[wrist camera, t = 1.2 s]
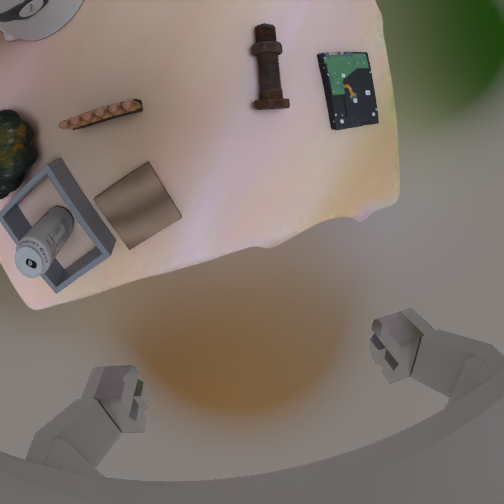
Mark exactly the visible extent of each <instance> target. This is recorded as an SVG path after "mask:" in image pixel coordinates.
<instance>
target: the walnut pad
mask: <svg viewBox="0 0 504 504" xmlns="http://www.w3.org/2000/svg"><path fill="white" fill-rule="evenodd" d="M94 201H95V202H96V204H97V205H98V207H99V208H100V210H101V211H102V213H103V214H104V215H105V217H106V218H107V220H108V221H109V223H110V224H111V225H112V227H113V228H114V230H115V231H116V232H117V234H118V235H119V236H120V238H121V239H122V241H123V242H124V243H125V245H126V246H127V247H128V249H129V250H130V249H132V248H133V247H135V246H137V245H138V244H140V243H141V242H143V241H145V240H146V239H148V238H149V237H151V236H153V235H154V234H156V233H157V232H159V231H161V230H162V229H164V228H166V227H167V226H169V225H171V224H172V223H174V222H176V221H177V220H179V219H181V218H182V215H181V213H180V212H179V210H178V208H177V207H176V205H175V204H174V202H173V200H172V199H171V197H170V196H169V194H168V192H167V191H166V189H165V187H164V186H163V184H162V183H161V181H160V179H159V178H158V176H157V174H156V173H155V171H154V169H153V168H152V166H151V164H150V163H149V161H148V162H147V163H145V164H144V165H142V166H141V167H139V168H137V169H136V170H134V171H133V172H131V173H130V174H128V175H127V176H125V177H124V178H122V179H121V180H119V181H118V182H116V183H115V184H113V185H112V186H111V187H109V188H108V189H106V190H105V191H104V192H102V193H101V194H99V195H98V196H97V197H95V199H94Z"/></svg>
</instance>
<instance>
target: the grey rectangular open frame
mask: <svg viewBox="0 0 504 504" xmlns="http://www.w3.org/2000/svg"><path fill="white" fill-rule="evenodd" d="M47 176H48V177H49V178H50V180H51V182H52V183H53V185H54V186H55V188H56V189H57V191H58V192H59V194H60V196H61V197H62V199H63V200H64V202H65V203H66V205H67V206H68V207H69V209H70V210H71V212H72V213H73V215H74V216H75V218H76V219H77V220H78V222H79V223H80V225H81V226H82V227H83V229H84V230H85V231H86V233H87V234H88V236H89V237H90V238H91V240H92V241H93V242H94V244H95V245H96V246H97V247H96V248H94V249H93V250H91V251H90V252H89V253H87V254H86V255H84V256H83V257H82V258H80V259H79V260H77V261H76V262H75V263H73V264H72V265H71V266H69V267H68V268H67V269H65V270H64V268H63V267H62V266H61V265H60V263H59V262H58V261H57V260H56V258H55V259H54V260H53V262H52V263H51V265H50V267H49V268H48V270H47V271H46V272H45V273H44V274H42V275H41V277H42V278H43V279H44V280H45V281H46V283H47V284H48V285H49V286H50V287H51V288H52V289H53V291H54V292H55V293H56V294H57V293H58V292H60V291H61V290H62V289H64V288H65V287H66V286H68V285H69V284H71V283H72V282H73V281H75V280H76V279H78V278H79V277H80V276H82V275H83V274H85V273H86V272H88V271H89V270H90V269H92V268H93V267H95V266H96V265H98V264H99V263H101V262H102V261H104V260H105V259H107V258H108V257H110V256H111V253H112V250H113V247H114V245H115V242H116V239H115V238H114V236H113V235H112V233H111V232H110V231H109V229H108V228H107V227H106V225H105V224H104V222H103V221H102V220H101V218H100V217H99V215H98V214H97V212H96V211H95V209H94V208H93V207H92V205H91V204H90V202H89V201H88V199H87V198H86V196H85V195H84V193H83V192H82V190H81V189H80V187H79V186H78V184H77V182H76V181H75V179H74V178H73V176H72V175H71V173H70V171H69V170H68V168H67V166H66V165H65V163H64V162H63V160H62V158H59V159H57V160H55V161H53V162H51V163H49V164H48V165H46V166H45V167H44V168H43V169H42V170H41V171H40V172H39V173H38V174H37V175H35V176H34V177H33V178H32V179H31V180H30V181H29V182H28V183H27V184H26V185H25V186H24V187H23V188H22V189H21V190H20V191H19V192H18V193H17V194H16V195H15V196H14V197H13V198H12V199H11V200H10V201H9V203H8V204H7V205H6V206H5V207H4V208H3V209H2V210H1V211H0V222H1V223H2V225H3V226H4V228H5V229H6V231H7V232H8V233H9V235H10V236H11V238H12V239H13V241H14V242H15V243H16V245H18V243H19V241H20V240H21V239H22V238H23V237H24V236H25V235H26V233H27V232H28V231H29V230H30V229H31V228H32V226H31V225H30V224H29V222H28V221H27V219H26V218H25V216H24V215H23V213H22V212H21V210H20V209H19V207H18V206H17V205H18V204H19V203H20V202H21V201H22V200H23V199H24V198H25V197H26V196H27V195H28V194H29V193H30V192H31V191H32V190H33V189H34V188H35V187H36V186H37V185H38V184H39V183H41V182H42V181H43V180H44V179H45V178H46V177H47Z"/></svg>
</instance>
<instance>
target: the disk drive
mask: <svg viewBox="0 0 504 504" xmlns="http://www.w3.org/2000/svg"><path fill="white" fill-rule="evenodd" d="M317 57H318V62H319V67H320V71H321V76H322V81H323V85H324V90H325V96H326V101H327V106H328V112H329V119H330V124H331V129H335V130H341V129H346V128H352V127H358V126H363V125H367V124H370V125H371V124H377V123H379V121H378V111H377V104H376V97H375V91H374V85H373V79H372V73H371V67H370V62H369V58H368V53H367V52H334V53H321V54H318V55H317Z"/></svg>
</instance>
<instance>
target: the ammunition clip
mask: <svg viewBox="0 0 504 504" xmlns="http://www.w3.org/2000/svg"><path fill="white" fill-rule="evenodd" d="M140 111H143V108H142V101H141V100H138V99H134V100H128V101H125V102H122V103H116V104H113V105H111V106H107V107H103V108H100V109H97V110H92V111H90V112H87V113H85V114H80V115H78V116H75V117H73V118H69V119H67V120H64V121H62V122H60V123H59V127H60V128H62V129H73V130H75V129H80V128H84V127H87V126H90V125H93V124H96V123H99V122H103V121H106V120H110V119H113V118H117V117H121V116H124V115H128V114H132V113H136V112H140Z"/></svg>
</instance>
